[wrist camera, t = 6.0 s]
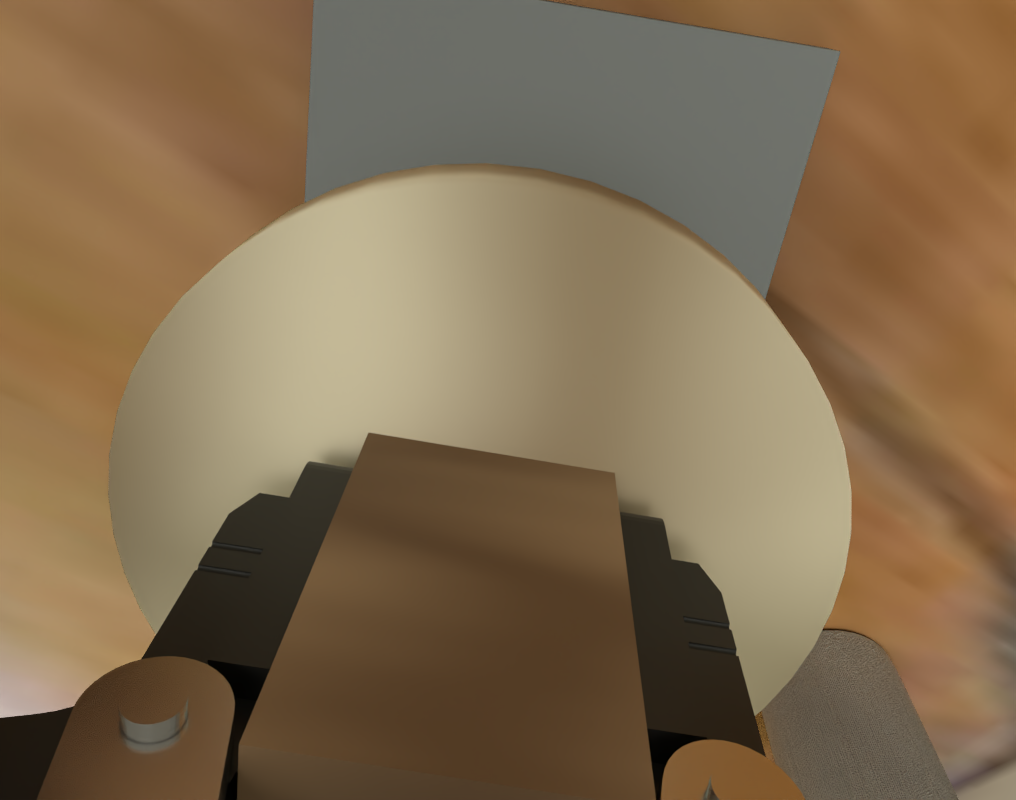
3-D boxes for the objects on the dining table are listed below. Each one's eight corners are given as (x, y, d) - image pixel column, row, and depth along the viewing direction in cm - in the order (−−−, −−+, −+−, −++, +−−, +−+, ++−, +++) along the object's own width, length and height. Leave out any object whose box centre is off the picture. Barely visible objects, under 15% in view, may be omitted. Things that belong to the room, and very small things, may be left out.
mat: (304, 410, 25) (294, 426, 24) (326, -38, 20) (315, -38, 19) (700, 475, 26) (705, 494, 25) (828, 48, 20) (840, 51, 19)
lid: (154, 699, 15) (-89, 1132, 9) (136, 98, 10) (-345, 226, 5) (719, 786, 15) (818, 1257, 9) (933, 236, 11) (1349, 508, 5)
